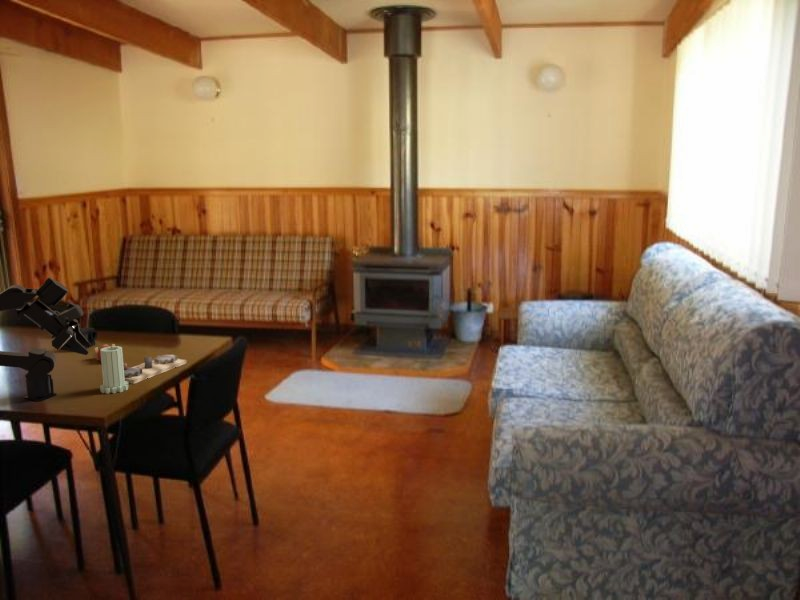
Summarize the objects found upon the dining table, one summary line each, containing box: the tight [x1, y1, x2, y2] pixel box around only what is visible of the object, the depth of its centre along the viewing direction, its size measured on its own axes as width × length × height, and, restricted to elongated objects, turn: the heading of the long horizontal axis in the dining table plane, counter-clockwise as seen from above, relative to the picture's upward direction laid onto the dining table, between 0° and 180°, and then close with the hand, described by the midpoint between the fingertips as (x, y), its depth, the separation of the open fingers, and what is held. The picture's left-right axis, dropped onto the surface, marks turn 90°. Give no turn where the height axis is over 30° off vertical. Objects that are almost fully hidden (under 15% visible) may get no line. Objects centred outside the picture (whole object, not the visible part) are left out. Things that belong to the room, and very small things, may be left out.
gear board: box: [123, 353, 188, 385], centre depth 227 cm, size 25×11×5 cm, turn 157°
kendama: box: [94, 343, 116, 361], centre depth 243 cm, size 8×6×18 cm
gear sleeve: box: [99, 345, 130, 395], centre depth 208 cm, size 8×8×13 cm
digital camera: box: [79, 327, 98, 350], centre depth 256 cm, size 10×5×7 cm, turn 175°
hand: (88, 349), depth 204 cm, fingers open, 9 cm apart
